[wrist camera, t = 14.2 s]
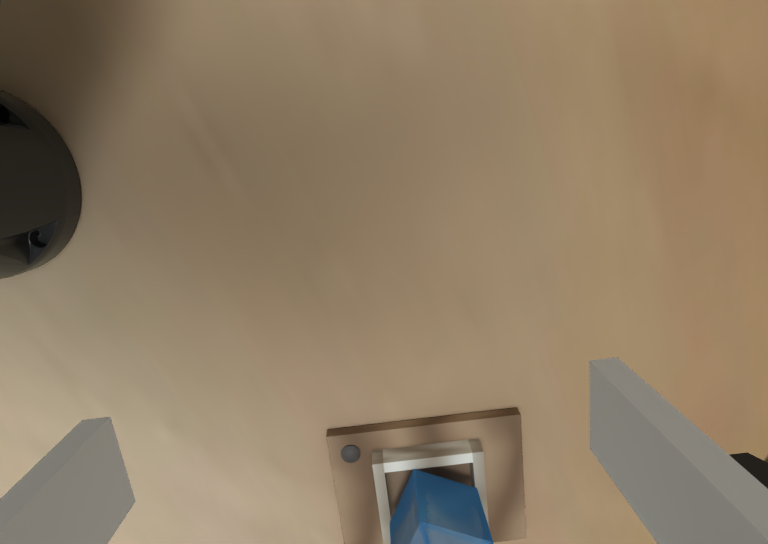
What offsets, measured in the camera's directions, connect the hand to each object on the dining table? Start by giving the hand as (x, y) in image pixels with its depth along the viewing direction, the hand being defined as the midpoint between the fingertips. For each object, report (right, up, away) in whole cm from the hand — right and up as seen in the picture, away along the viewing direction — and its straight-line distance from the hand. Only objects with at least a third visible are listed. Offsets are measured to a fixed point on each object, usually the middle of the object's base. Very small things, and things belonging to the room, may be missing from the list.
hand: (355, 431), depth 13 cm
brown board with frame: (+5, -16, +34) cm, 38 cm away
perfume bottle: (+5, -17, +31) cm, 36 cm away
